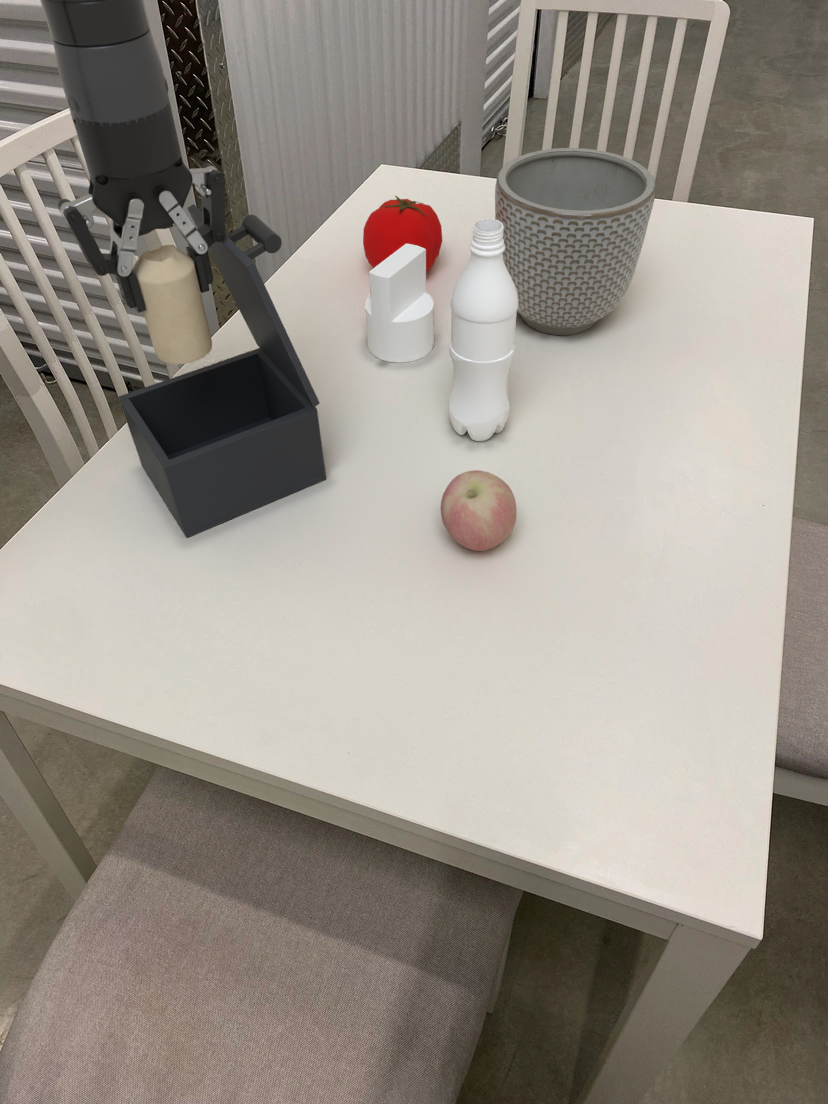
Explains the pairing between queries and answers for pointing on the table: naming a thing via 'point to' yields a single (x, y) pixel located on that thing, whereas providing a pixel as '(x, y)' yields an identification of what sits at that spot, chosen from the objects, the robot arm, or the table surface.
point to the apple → (478, 510)
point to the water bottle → (482, 336)
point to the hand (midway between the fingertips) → (170, 297)
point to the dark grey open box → (225, 439)
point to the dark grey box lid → (257, 296)
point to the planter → (572, 233)
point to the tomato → (401, 230)
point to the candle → (173, 305)
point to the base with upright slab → (400, 307)
